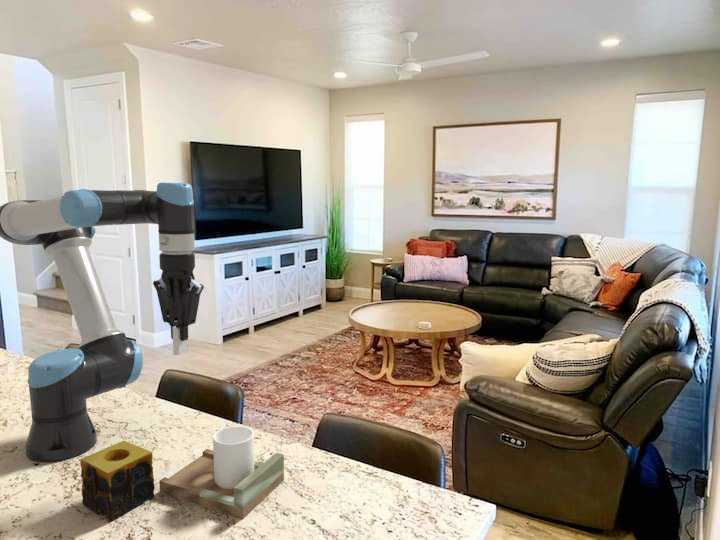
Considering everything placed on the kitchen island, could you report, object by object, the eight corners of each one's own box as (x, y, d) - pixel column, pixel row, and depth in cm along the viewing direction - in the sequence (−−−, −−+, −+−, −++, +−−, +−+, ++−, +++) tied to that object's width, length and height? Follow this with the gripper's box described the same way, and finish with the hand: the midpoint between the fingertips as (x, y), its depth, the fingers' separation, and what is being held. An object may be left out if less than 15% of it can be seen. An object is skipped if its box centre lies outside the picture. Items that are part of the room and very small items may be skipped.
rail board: (159, 493, 109) (158, 466, 108) (207, 460, 122) (206, 436, 122) (243, 518, 101) (242, 490, 100) (284, 480, 114) (283, 454, 113)
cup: (224, 495, 105) (223, 448, 103) (201, 470, 114) (199, 426, 112) (261, 481, 110) (260, 436, 108) (236, 458, 119) (235, 416, 118)
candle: (110, 523, 99) (107, 474, 98) (80, 505, 104) (77, 459, 103) (156, 497, 108) (154, 451, 106) (126, 482, 113) (124, 439, 111)
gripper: (142, 251, 116) (146, 353, 119) (187, 256, 111) (190, 362, 114) (167, 248, 123) (170, 345, 126) (211, 252, 117) (213, 352, 121)
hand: (180, 353), depth 120 cm, fingers closed
